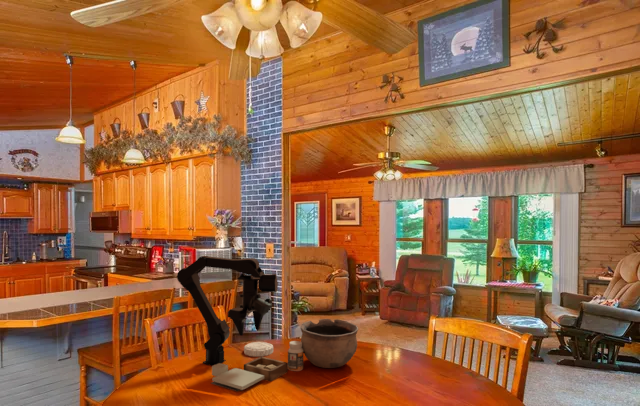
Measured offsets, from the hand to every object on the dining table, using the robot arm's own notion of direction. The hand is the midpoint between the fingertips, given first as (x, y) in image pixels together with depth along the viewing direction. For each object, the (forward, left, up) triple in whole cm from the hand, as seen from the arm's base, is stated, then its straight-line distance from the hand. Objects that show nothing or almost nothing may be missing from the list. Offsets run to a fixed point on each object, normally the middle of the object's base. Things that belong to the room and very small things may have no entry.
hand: (249, 332), depth 160 cm
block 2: (+14, -4, -11) cm, 18 cm away
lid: (+8, -17, -11) cm, 22 cm away
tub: (+12, -5, -12) cm, 18 cm away
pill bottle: (+18, +5, -12) cm, 22 cm away
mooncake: (-5, +12, -12) cm, 18 cm away
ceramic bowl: (+26, +16, -12) cm, 33 cm away
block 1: (+10, -6, -11) cm, 16 cm away
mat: (+8, -17, -12) cm, 22 cm away
